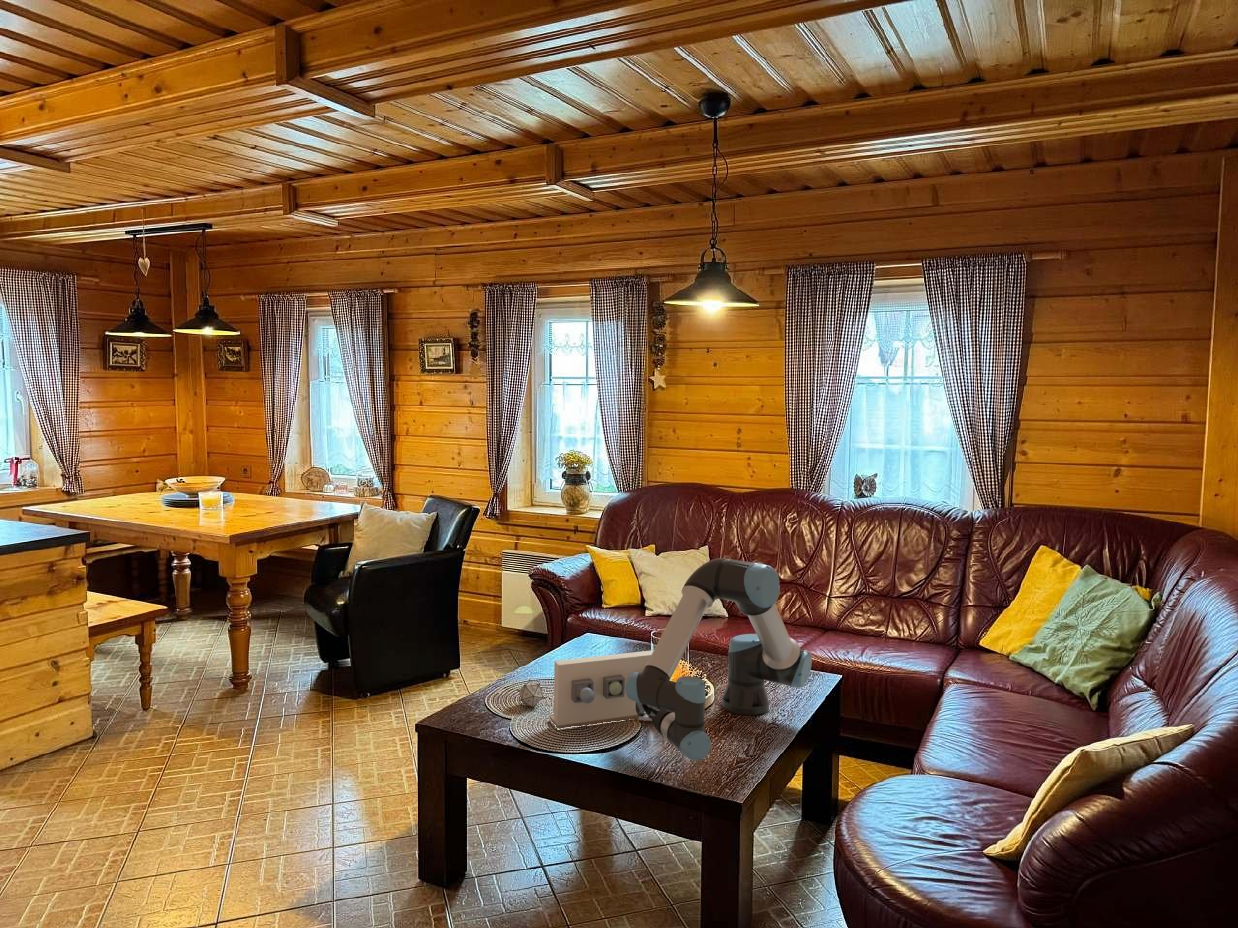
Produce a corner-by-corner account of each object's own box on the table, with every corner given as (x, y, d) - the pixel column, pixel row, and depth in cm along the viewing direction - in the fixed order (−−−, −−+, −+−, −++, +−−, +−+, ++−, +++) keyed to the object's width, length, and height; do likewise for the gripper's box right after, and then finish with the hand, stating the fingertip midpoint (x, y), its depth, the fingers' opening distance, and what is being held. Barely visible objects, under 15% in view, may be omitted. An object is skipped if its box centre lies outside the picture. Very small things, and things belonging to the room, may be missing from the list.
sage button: (607, 693, 251) (607, 680, 250) (619, 691, 252) (619, 679, 252) (609, 695, 249) (609, 682, 249) (621, 694, 250) (622, 681, 250)
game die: (537, 717, 267) (555, 694, 264) (518, 714, 260) (536, 691, 258) (525, 696, 273) (543, 674, 270) (506, 693, 266) (525, 670, 264)
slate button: (579, 701, 244) (579, 688, 244) (592, 699, 245) (592, 686, 245) (581, 703, 242) (581, 690, 242) (594, 702, 244) (594, 688, 243)
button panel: (549, 720, 255) (550, 656, 253) (651, 706, 267) (652, 645, 266) (560, 734, 244) (561, 668, 243) (665, 719, 257) (667, 656, 255)
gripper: (649, 742, 220) (615, 709, 241) (693, 735, 225) (656, 704, 246) (650, 714, 219) (616, 684, 241) (694, 708, 224) (657, 679, 246)
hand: (636, 694), depth 244 cm, fingers closed
